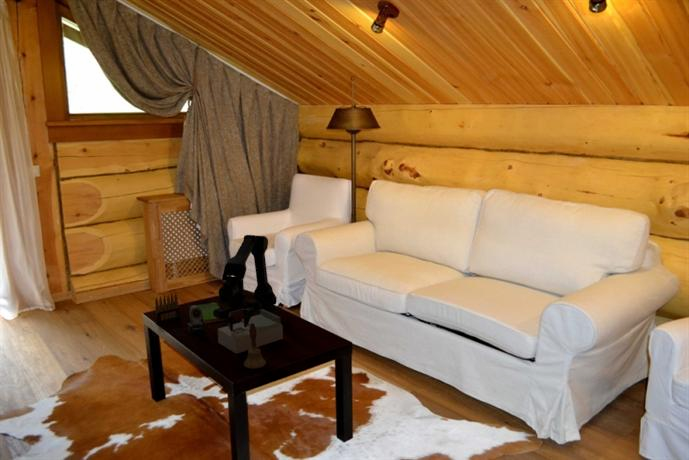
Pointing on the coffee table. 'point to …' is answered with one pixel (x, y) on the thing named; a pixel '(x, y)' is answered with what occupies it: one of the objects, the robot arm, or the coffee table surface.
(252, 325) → the hand bell
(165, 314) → the ammunition clip
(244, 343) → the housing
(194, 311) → the watch
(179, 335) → the coffee table surface
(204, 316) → the game box
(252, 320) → the lid
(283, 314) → the coffee table surface
